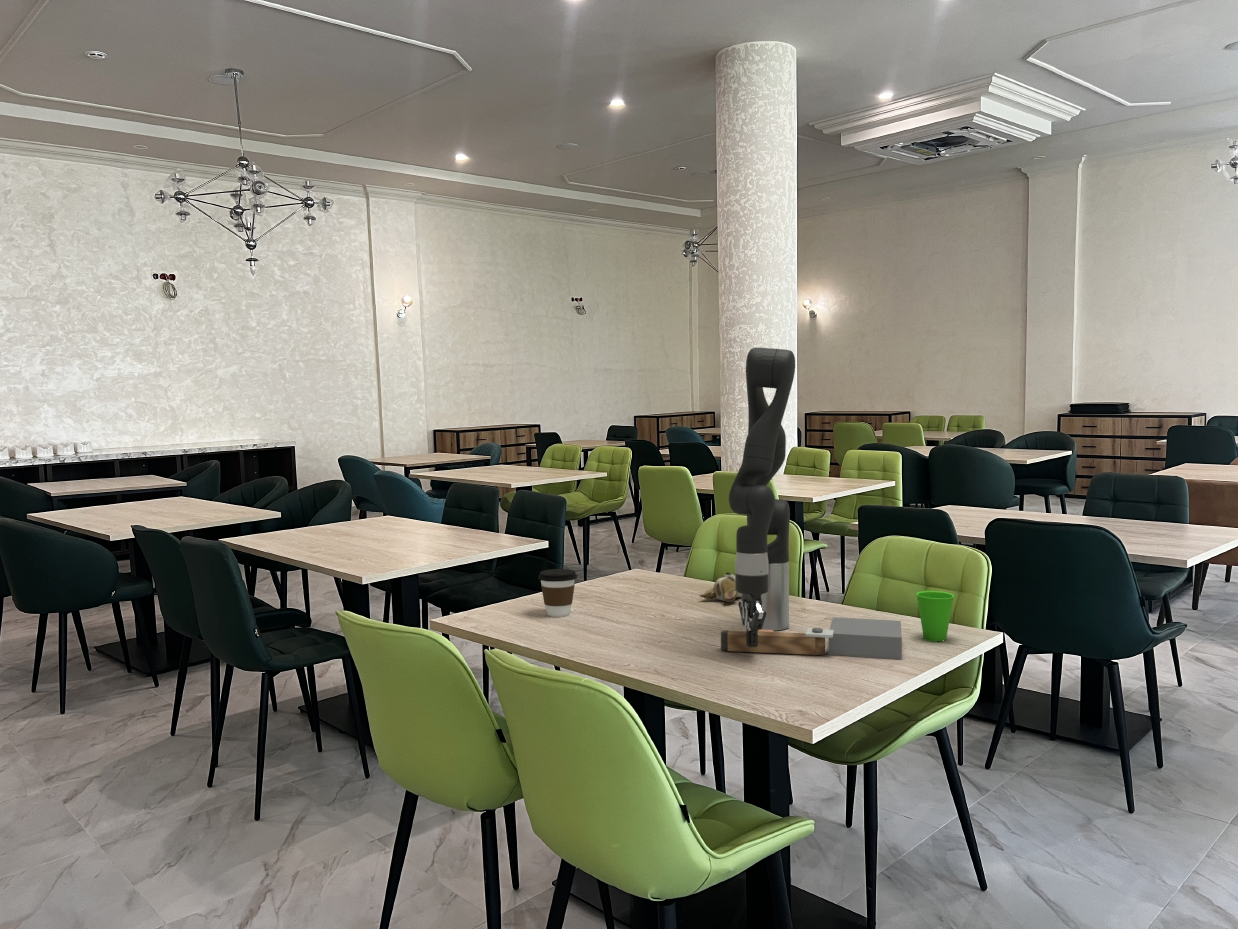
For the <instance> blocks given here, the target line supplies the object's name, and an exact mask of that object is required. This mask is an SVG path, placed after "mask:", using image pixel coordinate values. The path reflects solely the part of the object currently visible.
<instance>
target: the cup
mask: <svg viewBox="0 0 1238 929" xmlns="http://www.w3.org/2000/svg"><path fill="white" fill-rule="evenodd" d="M915 596H916V597H917V605H918V611H919V616H920V623H921V629H922V637H923V638H924V640H925V639H926V640H925V641H928V640H930V641H929V642H934V641H941V642H944V641H943V640H945V641H946V640H947V638H948V637H947V636H948V630H949V624H950V620H951V614H952V608H953V602H954V599H955V598H956V596H955V594H954V593H951V592H949V591H948V592H947V591H943V590H942V591H940V590H922V591H917V592H916V593H915Z"/></svg>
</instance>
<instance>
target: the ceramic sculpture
mask: <svg viewBox="0 0 1238 929" xmlns="http://www.w3.org/2000/svg"><path fill="white" fill-rule="evenodd" d="M713 584H714V586H713V587H709V589H706V591H705V592H704V593H703V594H700V595H699V597H700V598H704V599H706V600H713V599H718V600H719V601H721V600H722V601H721V602H725V601H726V602H727V603H732V602H734V601H735V600H736V599H742V594H741V593H738V592H736V590H735V574H733V573H732V572H725V574H723V576H721V577H719V578H718V579H716V580H715V582H714V583H713ZM736 597H737V598H736ZM738 597H739V598H738ZM726 602H725V603H726Z"/></svg>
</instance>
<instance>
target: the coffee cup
mask: <svg viewBox="0 0 1238 929" xmlns="http://www.w3.org/2000/svg"><path fill="white" fill-rule="evenodd" d="M577 578H578V574H576V571H575V570H573V569H569V568H553V569H552V568H551V569H544V570H541V571H540V572H539V574H538V578H537V579H538V580H540V583H541V585H540V587H541V591H542V593H541V594H542V599H543V604H544V606H545V611H546V614H547V616H548V617H552V618H563V617H568V616H570V614H571V611H572V604H573V600H574V592H575V579H577Z"/></svg>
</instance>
